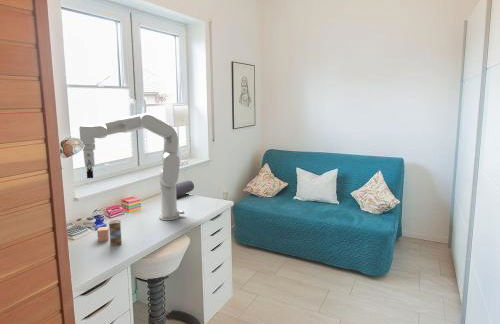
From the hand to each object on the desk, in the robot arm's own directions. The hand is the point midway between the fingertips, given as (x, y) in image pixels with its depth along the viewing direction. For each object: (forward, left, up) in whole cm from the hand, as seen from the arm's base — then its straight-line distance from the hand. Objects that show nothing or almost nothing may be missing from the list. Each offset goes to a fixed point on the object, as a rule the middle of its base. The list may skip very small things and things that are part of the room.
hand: (90, 176), depth 209 cm
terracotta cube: (-8, +24, -30) cm, 39 cm away
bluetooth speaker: (-55, -53, -30) cm, 82 cm away
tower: (-15, +32, -30) cm, 46 cm away
